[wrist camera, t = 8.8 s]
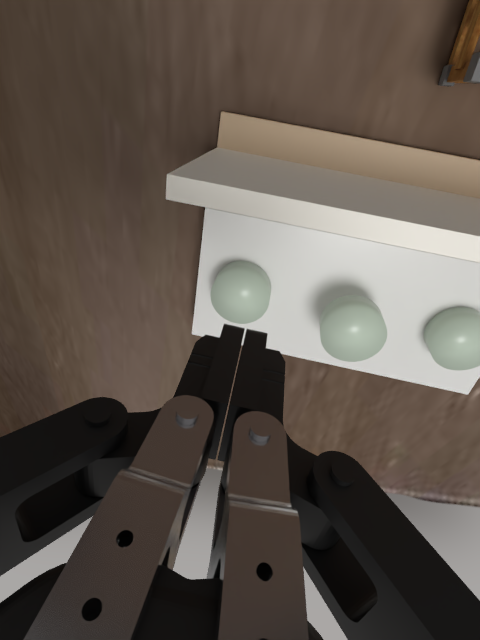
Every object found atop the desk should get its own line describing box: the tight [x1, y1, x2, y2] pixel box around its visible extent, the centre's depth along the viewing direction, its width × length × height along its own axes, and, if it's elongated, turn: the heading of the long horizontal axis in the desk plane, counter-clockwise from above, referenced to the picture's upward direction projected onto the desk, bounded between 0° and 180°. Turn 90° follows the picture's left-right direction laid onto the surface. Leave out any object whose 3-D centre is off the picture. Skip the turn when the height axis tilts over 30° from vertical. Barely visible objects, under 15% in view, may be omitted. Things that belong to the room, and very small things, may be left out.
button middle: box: [319, 295, 387, 362], centre depth 28 cm, size 5×5×2 cm
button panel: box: [192, 207, 480, 394], centre depth 32 cm, size 26×12×3 cm, turn 81°
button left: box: [210, 261, 271, 324], centre depth 30 cm, size 5×5×2 cm
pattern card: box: [166, 111, 480, 263], centre depth 22 cm, size 26×4×13 cm, turn 81°
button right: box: [424, 307, 480, 371], centre depth 29 cm, size 5×5×2 cm
